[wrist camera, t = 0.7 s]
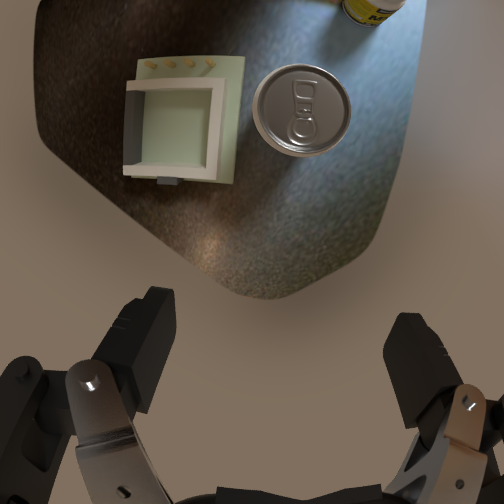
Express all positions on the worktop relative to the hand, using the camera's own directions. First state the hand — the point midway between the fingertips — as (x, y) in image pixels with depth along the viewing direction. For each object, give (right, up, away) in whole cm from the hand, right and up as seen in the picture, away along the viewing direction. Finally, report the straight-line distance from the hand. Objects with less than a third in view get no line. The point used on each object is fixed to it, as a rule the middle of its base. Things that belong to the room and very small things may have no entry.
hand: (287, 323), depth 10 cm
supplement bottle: (+10, +28, +11) cm, 32 cm away
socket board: (-8, +16, +17) cm, 25 cm away
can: (+3, +16, +17) cm, 23 cm away
